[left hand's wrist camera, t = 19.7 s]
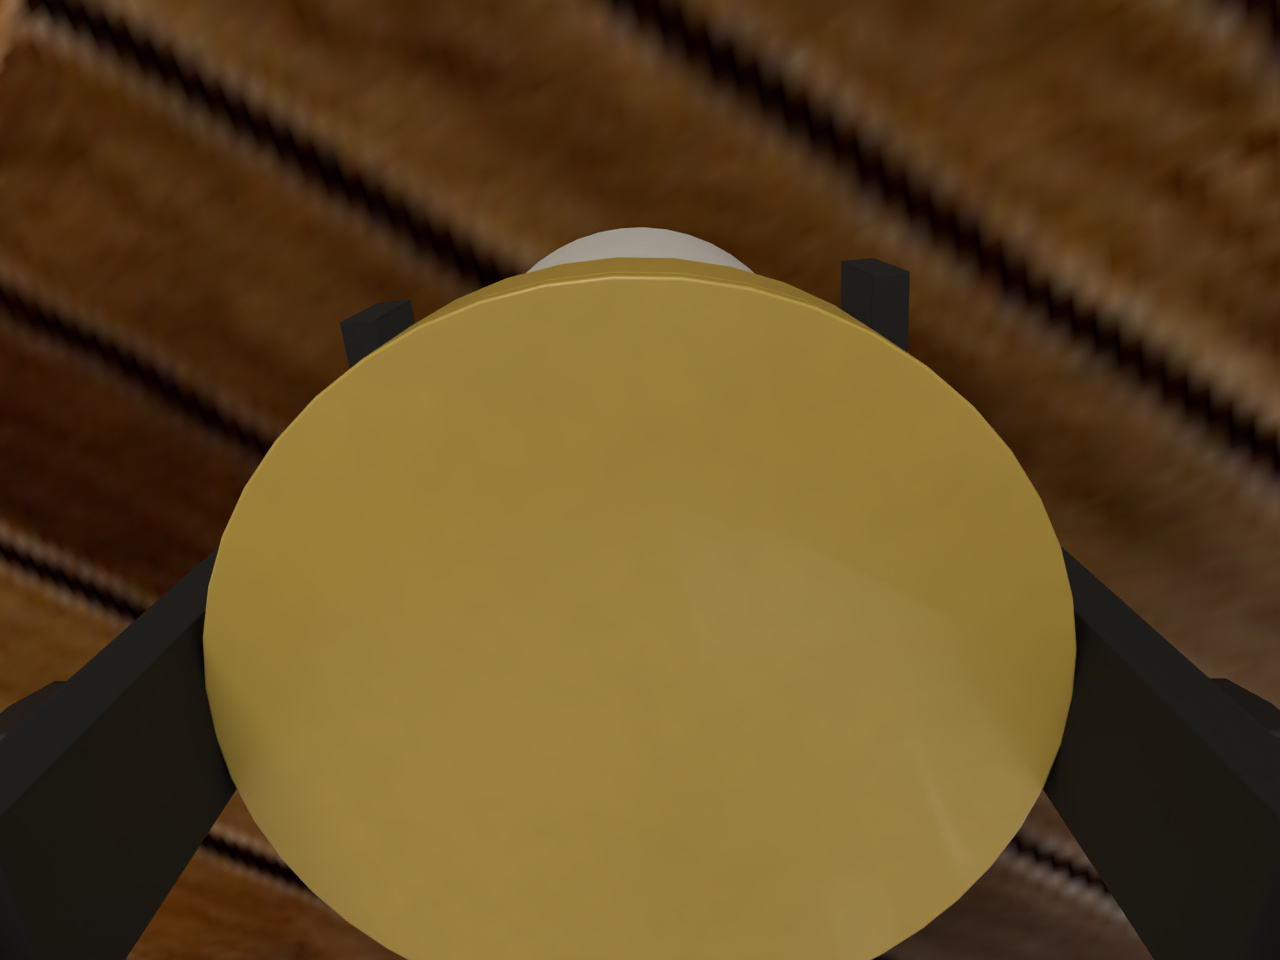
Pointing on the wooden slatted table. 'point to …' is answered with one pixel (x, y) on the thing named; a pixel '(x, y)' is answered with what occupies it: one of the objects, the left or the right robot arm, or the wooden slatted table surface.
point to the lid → (639, 629)
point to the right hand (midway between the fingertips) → (622, 287)
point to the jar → (639, 248)
